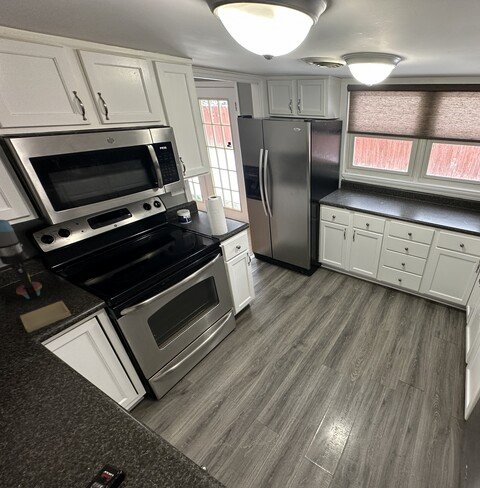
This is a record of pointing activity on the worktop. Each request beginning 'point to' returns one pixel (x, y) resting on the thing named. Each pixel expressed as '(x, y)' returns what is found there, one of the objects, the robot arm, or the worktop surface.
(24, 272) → the robot arm
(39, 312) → the tray
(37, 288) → the cupcake
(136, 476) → the worktop surface
